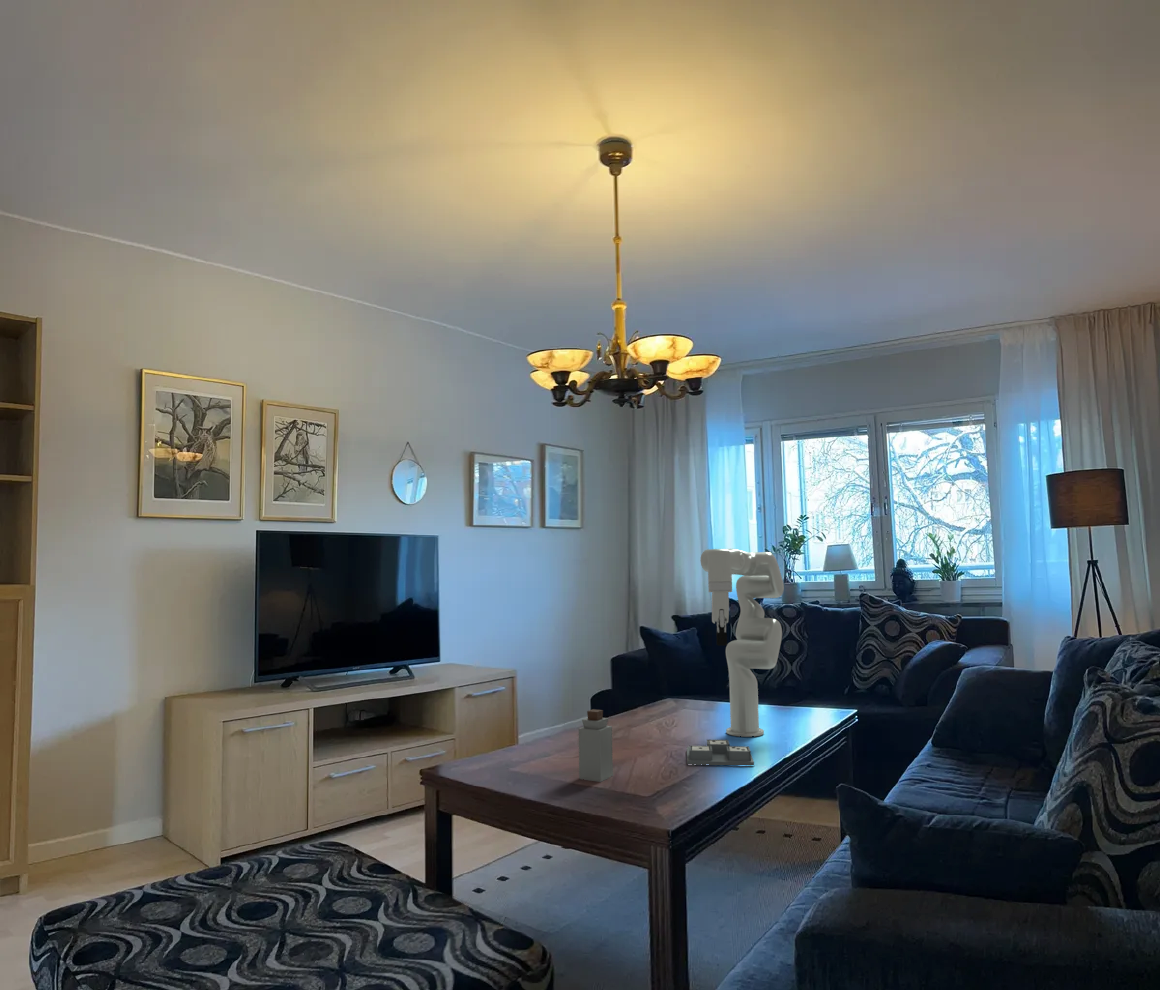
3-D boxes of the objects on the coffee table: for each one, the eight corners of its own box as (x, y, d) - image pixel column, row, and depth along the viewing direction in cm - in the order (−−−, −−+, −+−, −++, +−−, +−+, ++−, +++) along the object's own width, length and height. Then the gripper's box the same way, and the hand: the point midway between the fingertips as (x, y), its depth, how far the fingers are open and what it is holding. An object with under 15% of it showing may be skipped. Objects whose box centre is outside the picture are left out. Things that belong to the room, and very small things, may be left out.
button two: (709, 747, 244) (709, 739, 244) (726, 747, 243) (725, 740, 243) (710, 750, 239) (710, 743, 239) (727, 751, 238) (726, 743, 238)
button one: (692, 753, 236) (691, 745, 236) (708, 753, 235) (708, 746, 236) (692, 757, 231) (692, 749, 231) (709, 757, 231) (709, 749, 231)
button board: (686, 750, 246) (686, 738, 247) (748, 751, 244) (748, 739, 244) (687, 765, 229) (687, 751, 229) (754, 766, 226) (753, 752, 227)
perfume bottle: (591, 773, 222) (590, 707, 223) (612, 776, 218) (611, 709, 220) (579, 778, 216) (578, 711, 217) (600, 782, 212) (599, 713, 214)
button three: (729, 753, 235) (729, 746, 235) (746, 754, 234) (746, 746, 234) (730, 757, 230) (730, 750, 230) (747, 758, 229) (747, 750, 229)
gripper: (707, 587, 262) (709, 643, 261) (709, 588, 248) (710, 647, 246) (730, 586, 261) (732, 643, 260) (733, 588, 247) (735, 647, 245)
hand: (721, 645), depth 253 cm, fingers closed
